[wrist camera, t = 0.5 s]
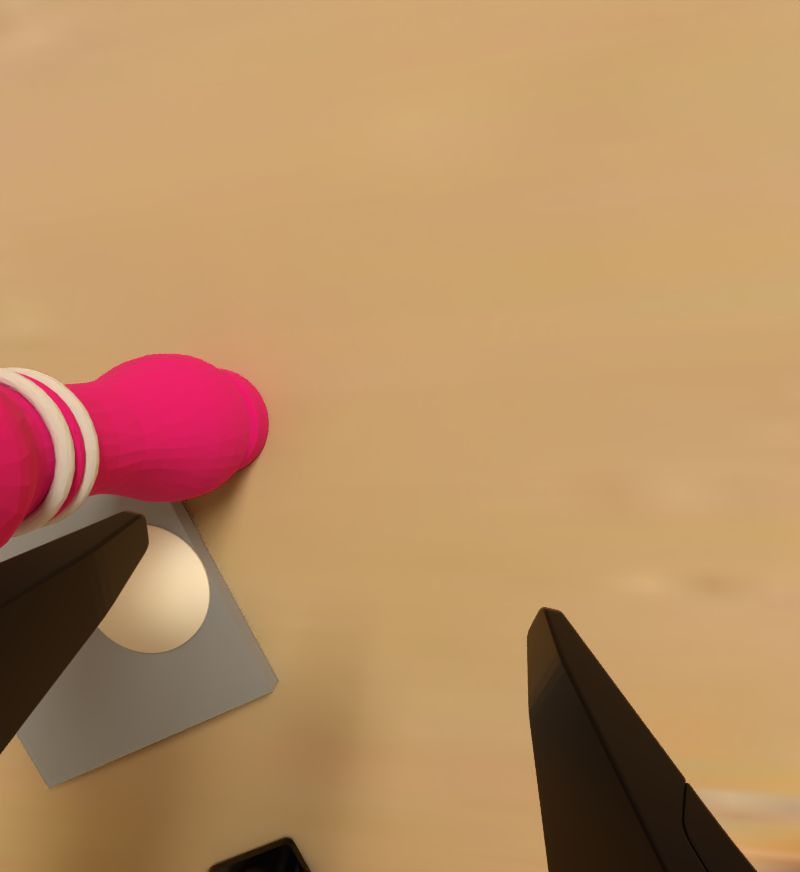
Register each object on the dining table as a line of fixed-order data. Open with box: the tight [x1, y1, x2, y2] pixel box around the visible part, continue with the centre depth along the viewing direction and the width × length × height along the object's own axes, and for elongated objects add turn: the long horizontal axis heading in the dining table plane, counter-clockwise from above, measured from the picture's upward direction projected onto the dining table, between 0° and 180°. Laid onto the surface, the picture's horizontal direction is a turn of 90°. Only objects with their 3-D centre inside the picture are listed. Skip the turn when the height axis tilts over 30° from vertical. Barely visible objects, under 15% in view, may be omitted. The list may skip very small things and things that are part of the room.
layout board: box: [0, 494, 278, 788], centre depth 24 cm, size 17×18×6 cm
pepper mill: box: [0, 354, 269, 548], centre depth 16 cm, size 7×7×20 cm
